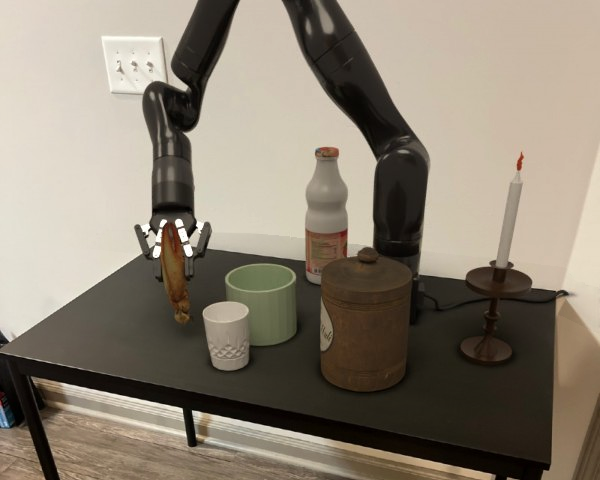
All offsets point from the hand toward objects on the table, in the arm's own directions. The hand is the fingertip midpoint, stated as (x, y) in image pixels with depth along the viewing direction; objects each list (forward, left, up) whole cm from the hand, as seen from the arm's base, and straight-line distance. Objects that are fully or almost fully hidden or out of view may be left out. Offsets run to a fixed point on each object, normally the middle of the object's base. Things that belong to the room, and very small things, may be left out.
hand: (174, 279), depth 106 cm
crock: (-14, -9, -14) cm, 21 cm away
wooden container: (-34, +4, -14) cm, 37 cm away
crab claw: (0, -2, -10) cm, 10 cm away
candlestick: (-56, -4, -14) cm, 57 cm away
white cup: (-10, +4, -14) cm, 17 cm away
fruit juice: (-24, -35, -14) cm, 44 cm away
